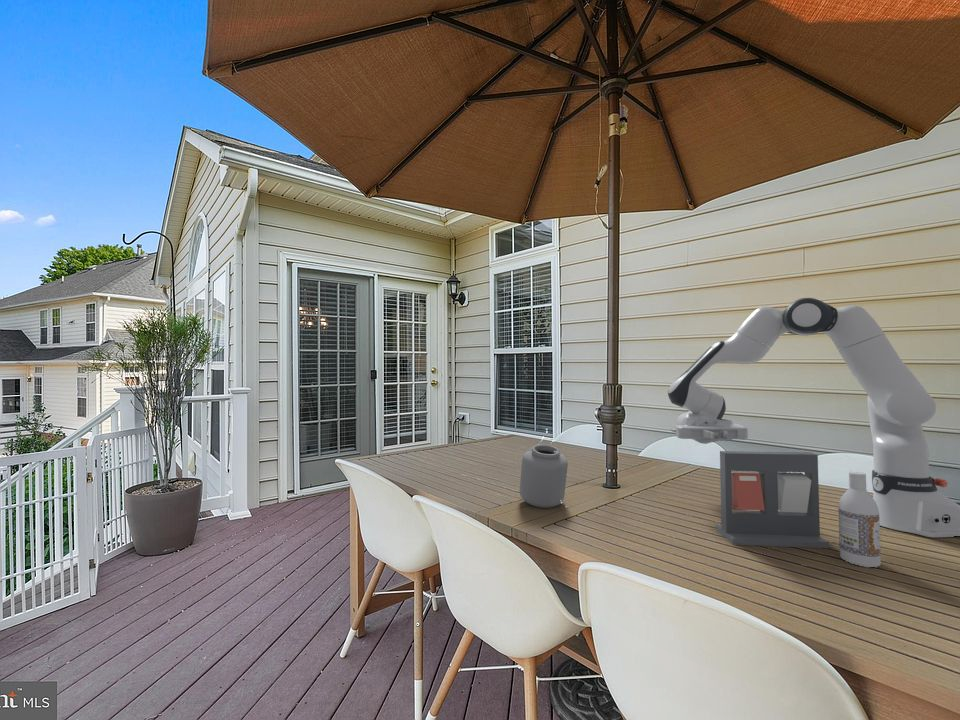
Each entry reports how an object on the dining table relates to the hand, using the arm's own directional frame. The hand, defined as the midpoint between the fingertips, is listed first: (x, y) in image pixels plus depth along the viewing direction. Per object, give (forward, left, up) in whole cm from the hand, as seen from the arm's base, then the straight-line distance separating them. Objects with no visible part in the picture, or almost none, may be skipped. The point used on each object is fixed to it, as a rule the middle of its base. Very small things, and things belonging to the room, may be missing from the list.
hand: (720, 435), depth 127 cm
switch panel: (-5, +15, -24) cm, 29 cm away
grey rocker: (-11, +14, -16) cm, 24 cm away
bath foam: (-18, +27, -24) cm, 41 cm away
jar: (+52, -7, -24) cm, 57 cm away
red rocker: (0, +16, -16) cm, 23 cm away
